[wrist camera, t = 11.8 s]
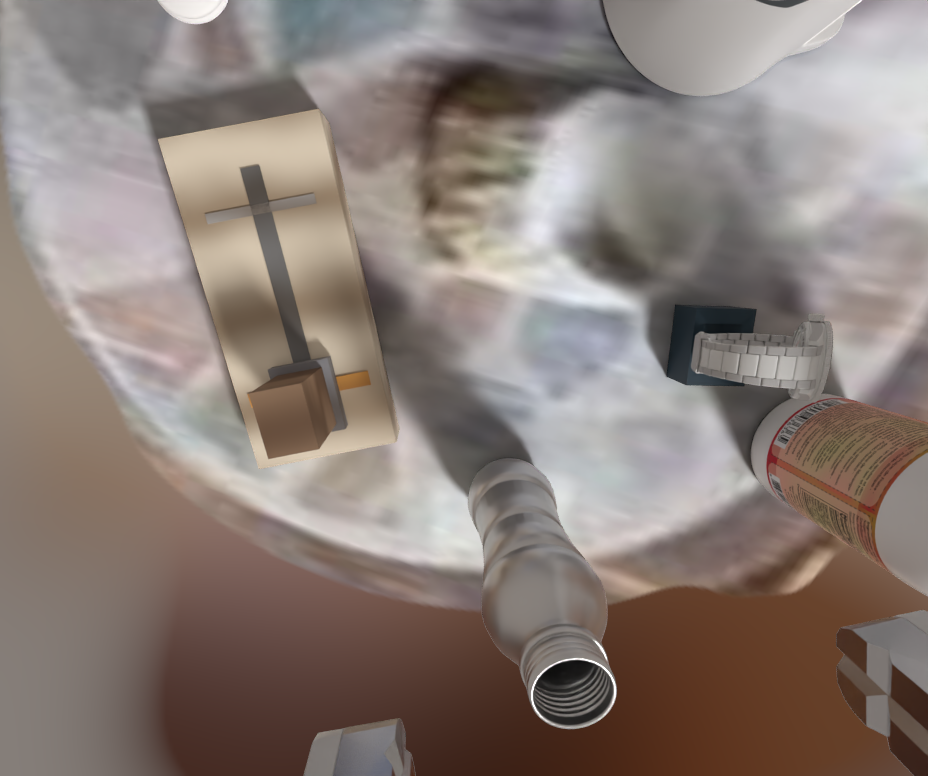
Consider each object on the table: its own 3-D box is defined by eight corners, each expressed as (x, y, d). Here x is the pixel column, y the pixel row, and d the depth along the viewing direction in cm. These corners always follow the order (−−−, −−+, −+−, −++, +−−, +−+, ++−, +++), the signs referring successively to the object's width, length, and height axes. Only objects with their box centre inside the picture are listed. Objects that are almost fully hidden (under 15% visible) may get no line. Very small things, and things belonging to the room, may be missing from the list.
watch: (743, 377, 38) (862, 417, 28) (644, 376, 38) (725, 415, 27) (755, 305, 37) (884, 318, 26) (652, 303, 37) (741, 314, 26)
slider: (272, 367, 33) (237, 386, 27) (330, 355, 33) (307, 372, 27) (292, 435, 34) (262, 468, 28) (348, 424, 34) (329, 455, 28)
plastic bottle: (523, 536, 40) (602, 777, 21) (451, 503, 39) (464, 724, 20) (562, 471, 39) (684, 663, 20) (488, 435, 38) (542, 601, 19)
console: (182, 151, 33) (156, 138, 30) (329, 123, 33) (318, 108, 30) (272, 454, 38) (258, 469, 35) (399, 429, 38) (396, 442, 35)
